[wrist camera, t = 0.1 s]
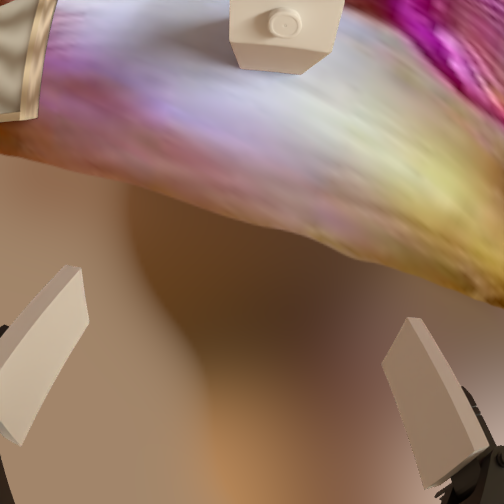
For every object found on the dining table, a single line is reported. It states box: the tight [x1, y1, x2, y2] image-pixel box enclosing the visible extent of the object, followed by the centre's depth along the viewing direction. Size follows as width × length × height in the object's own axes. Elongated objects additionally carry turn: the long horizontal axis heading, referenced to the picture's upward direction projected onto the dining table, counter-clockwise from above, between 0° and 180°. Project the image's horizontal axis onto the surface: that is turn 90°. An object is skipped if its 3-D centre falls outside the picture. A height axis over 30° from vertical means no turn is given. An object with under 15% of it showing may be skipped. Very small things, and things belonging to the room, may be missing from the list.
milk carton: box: [229, 0, 345, 75], centre depth 21 cm, size 7×7×19 cm
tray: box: [0, 0, 58, 122], centre depth 26 cm, size 21×15×3 cm
